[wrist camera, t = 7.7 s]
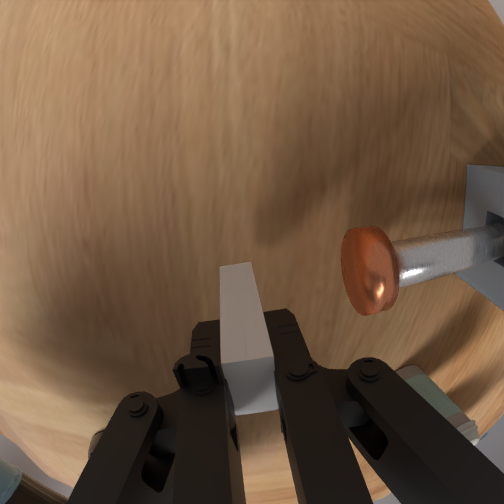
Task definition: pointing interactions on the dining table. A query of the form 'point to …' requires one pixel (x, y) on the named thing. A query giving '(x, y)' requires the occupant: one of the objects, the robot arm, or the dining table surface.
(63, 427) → the dining table surface
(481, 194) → the block
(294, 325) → the robot arm
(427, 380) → the coffee cup
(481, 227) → the lynch pin
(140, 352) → the dining table surface
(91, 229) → the dining table surface
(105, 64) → the dining table surface
